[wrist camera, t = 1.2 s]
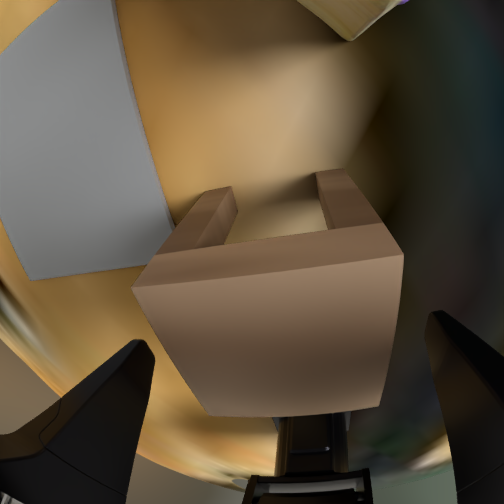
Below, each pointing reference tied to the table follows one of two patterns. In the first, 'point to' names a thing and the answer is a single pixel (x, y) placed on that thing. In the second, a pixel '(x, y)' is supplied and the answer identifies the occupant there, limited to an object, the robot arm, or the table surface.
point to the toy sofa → (350, 14)
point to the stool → (278, 307)
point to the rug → (76, 148)
